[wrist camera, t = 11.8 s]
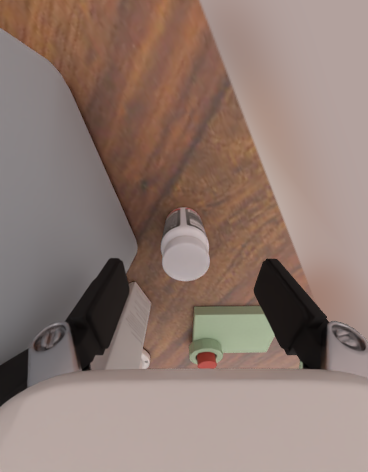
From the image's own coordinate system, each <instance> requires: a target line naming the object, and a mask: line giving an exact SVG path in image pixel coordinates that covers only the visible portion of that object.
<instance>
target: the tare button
mask: <svg viewBox="0 0 368 472" xmlns="http://www.w3.org/2000/svg"><path fill="white" fill-rule="evenodd" d="M197 364H198V368H199V369H214V368H215V367H216V366H217V363H216V358H215V353H212V352H202V353H199V354H198V355H197Z"/></svg>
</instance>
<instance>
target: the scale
mask: <svg viewBox="0 0 368 472" xmlns="http://www.w3.org/2000/svg"><path fill="white" fill-rule="evenodd" d="M274 336H275V335H274V333H273V331H272V329H271V327H270V325H269V323H268V321H267V318H266V316H265V314H264V312H263V310H262V308H261V306H209V307H194V318H193V335H192V343H191V344H190V345H189V359H190V361H192V362H193V363H195V364H197V355H198V354H199V353H202V352H212V353H215V358H216V363H217V362H219V361H220V360H222V357H223V353H246V352H267V350H268V348H269V346H270V344H271V342H272V340H273V338H274Z"/></svg>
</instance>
